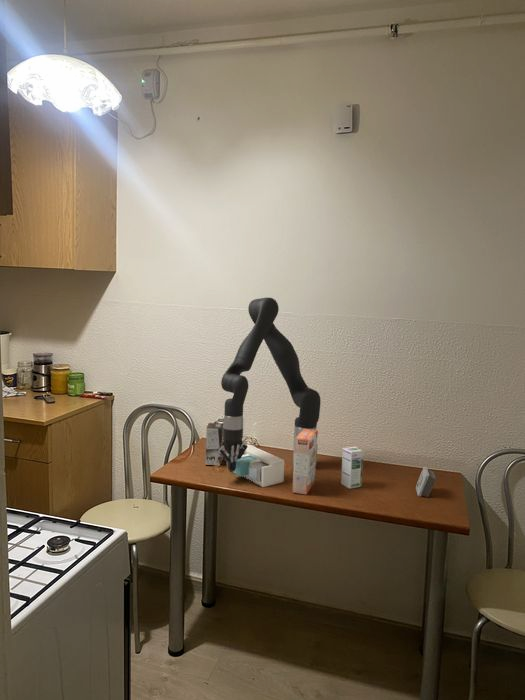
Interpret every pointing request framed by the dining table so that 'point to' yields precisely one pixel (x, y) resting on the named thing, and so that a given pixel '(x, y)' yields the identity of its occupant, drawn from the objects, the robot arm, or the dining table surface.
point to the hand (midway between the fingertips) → (231, 470)
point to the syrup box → (352, 467)
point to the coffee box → (214, 443)
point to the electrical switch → (425, 482)
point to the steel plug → (256, 471)
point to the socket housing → (268, 473)
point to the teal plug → (243, 466)
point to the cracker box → (304, 461)
